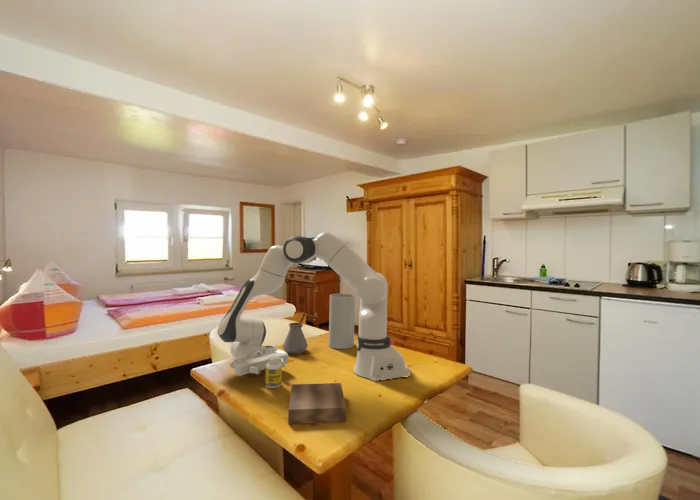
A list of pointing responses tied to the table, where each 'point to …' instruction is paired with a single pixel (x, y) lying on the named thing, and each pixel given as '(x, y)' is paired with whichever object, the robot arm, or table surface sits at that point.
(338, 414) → the walnut plinth
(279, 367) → the supplement bottle
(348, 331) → the cylinder vase
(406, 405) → the table surface
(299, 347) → the coffee pot
